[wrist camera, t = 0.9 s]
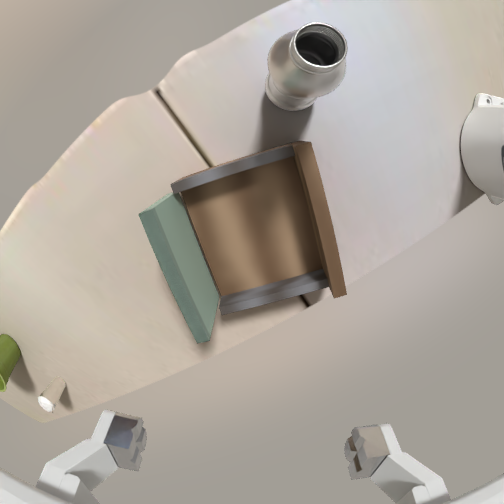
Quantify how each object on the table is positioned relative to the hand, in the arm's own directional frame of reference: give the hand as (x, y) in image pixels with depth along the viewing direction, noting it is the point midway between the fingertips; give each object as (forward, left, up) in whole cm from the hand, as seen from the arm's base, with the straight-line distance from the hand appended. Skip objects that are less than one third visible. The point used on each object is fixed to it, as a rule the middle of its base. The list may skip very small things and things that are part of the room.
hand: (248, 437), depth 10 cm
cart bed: (0, +1, -33) cm, 33 cm away
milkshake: (+55, +23, -33) cm, 68 cm away
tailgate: (+8, +1, -30) cm, 31 cm away
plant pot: (+66, +11, -33) cm, 75 cm away
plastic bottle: (-9, -15, -33) cm, 38 cm away
